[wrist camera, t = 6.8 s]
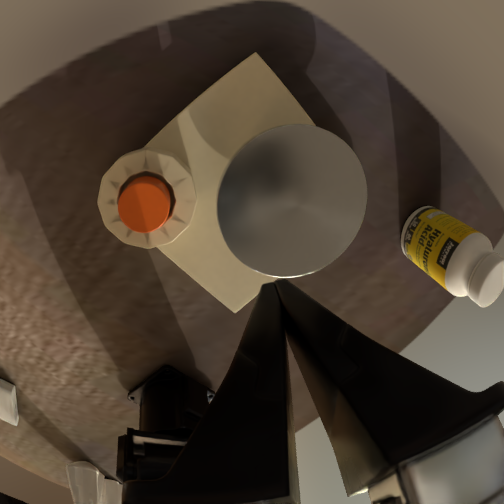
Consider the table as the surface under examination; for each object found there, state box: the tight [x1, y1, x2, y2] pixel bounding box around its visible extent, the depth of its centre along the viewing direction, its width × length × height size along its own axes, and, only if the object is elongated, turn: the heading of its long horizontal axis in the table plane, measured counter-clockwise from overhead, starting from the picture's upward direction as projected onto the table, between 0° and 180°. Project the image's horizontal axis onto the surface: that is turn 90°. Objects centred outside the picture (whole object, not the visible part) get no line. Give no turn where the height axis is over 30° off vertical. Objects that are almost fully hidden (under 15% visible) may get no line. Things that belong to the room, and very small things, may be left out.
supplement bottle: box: [401, 206, 504, 307], centre depth 21 cm, size 5×5×10 cm
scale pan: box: [216, 124, 367, 277], centre depth 18 cm, size 10×10×1 cm
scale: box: [97, 52, 316, 313], centre depth 19 cm, size 14×14×3 cm
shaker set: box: [66, 461, 123, 504], centre depth 28 cm, size 12×4×11 cm, turn 8°
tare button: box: [118, 176, 170, 233], centre depth 16 cm, size 3×3×2 cm
